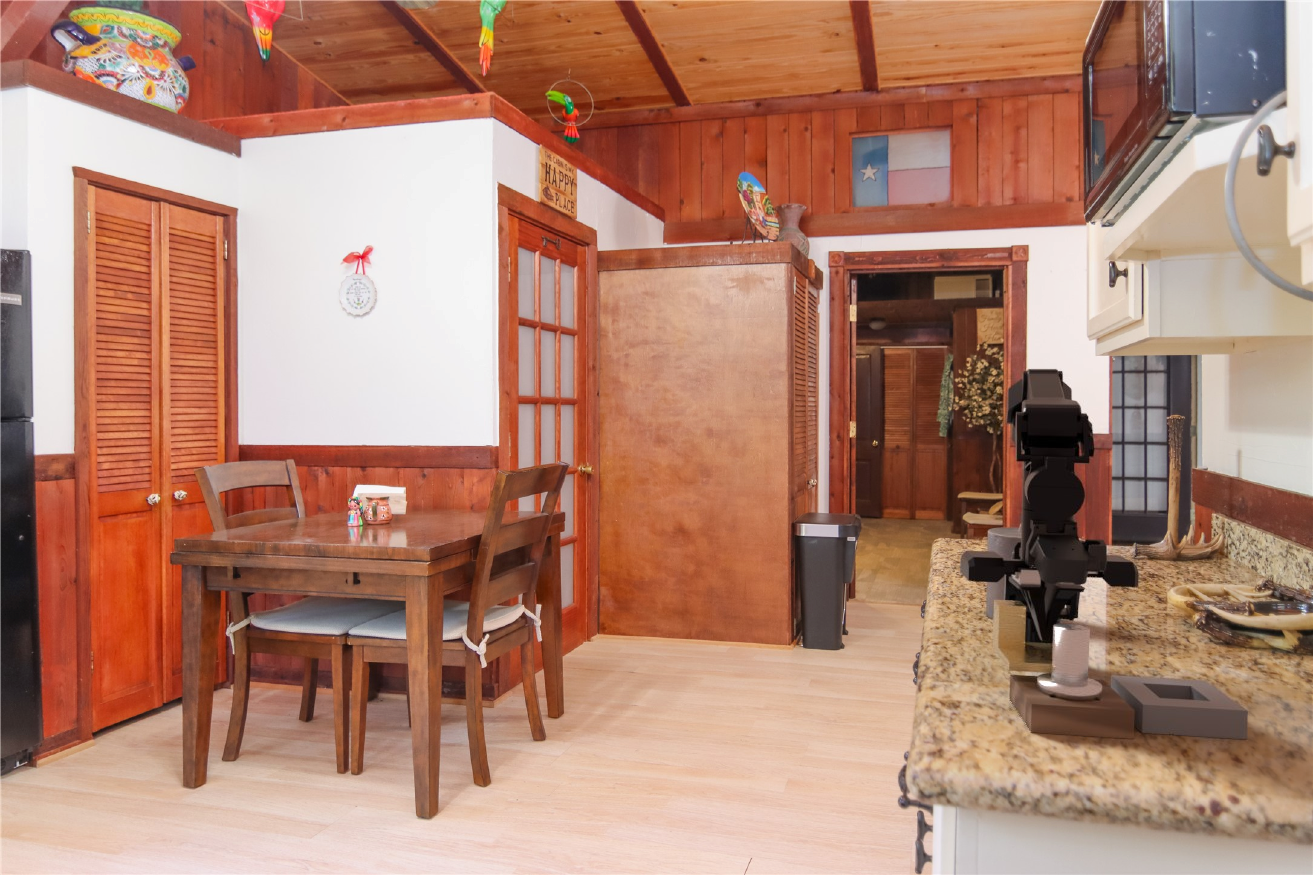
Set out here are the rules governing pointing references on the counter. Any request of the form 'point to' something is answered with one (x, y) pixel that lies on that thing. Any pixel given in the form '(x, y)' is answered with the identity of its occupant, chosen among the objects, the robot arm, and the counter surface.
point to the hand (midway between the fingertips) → (1044, 640)
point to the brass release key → (1018, 640)
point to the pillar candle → (1003, 545)
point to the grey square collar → (1181, 707)
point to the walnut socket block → (1071, 711)
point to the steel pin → (1070, 666)
